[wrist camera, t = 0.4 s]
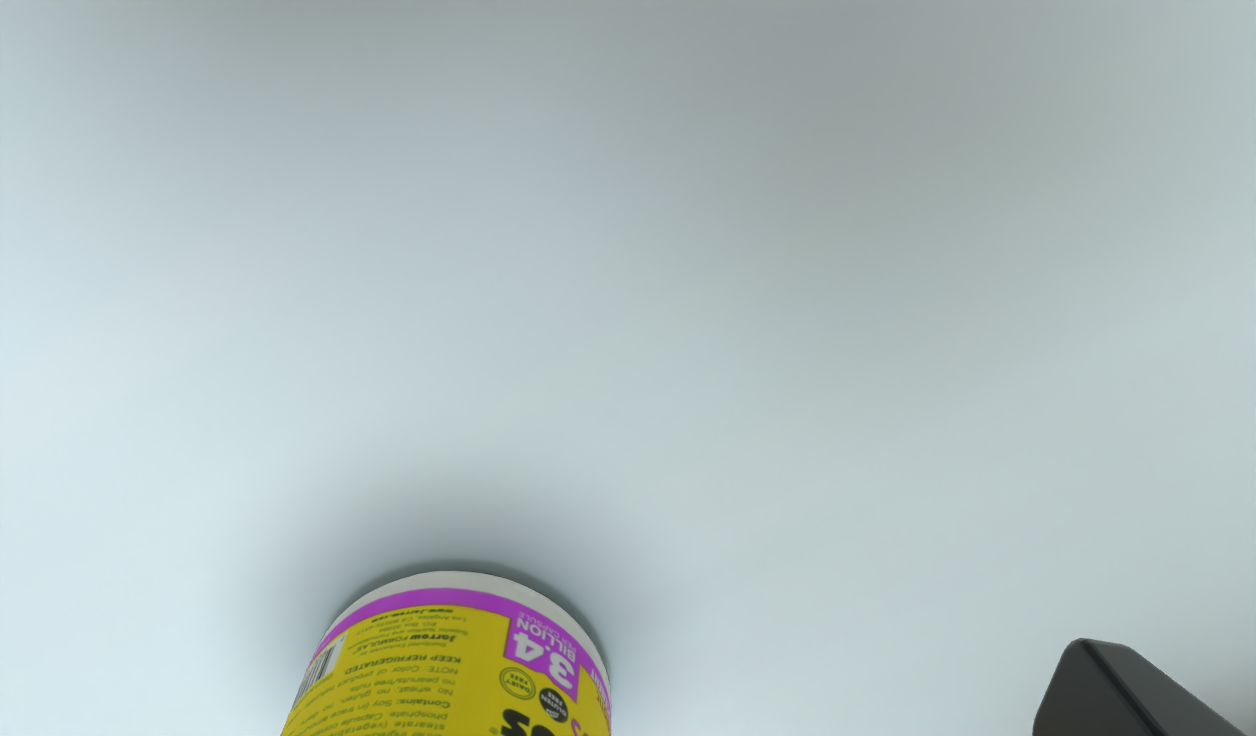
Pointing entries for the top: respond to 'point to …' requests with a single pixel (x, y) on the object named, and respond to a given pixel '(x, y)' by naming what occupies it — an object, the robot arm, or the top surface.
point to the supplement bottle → (453, 665)
